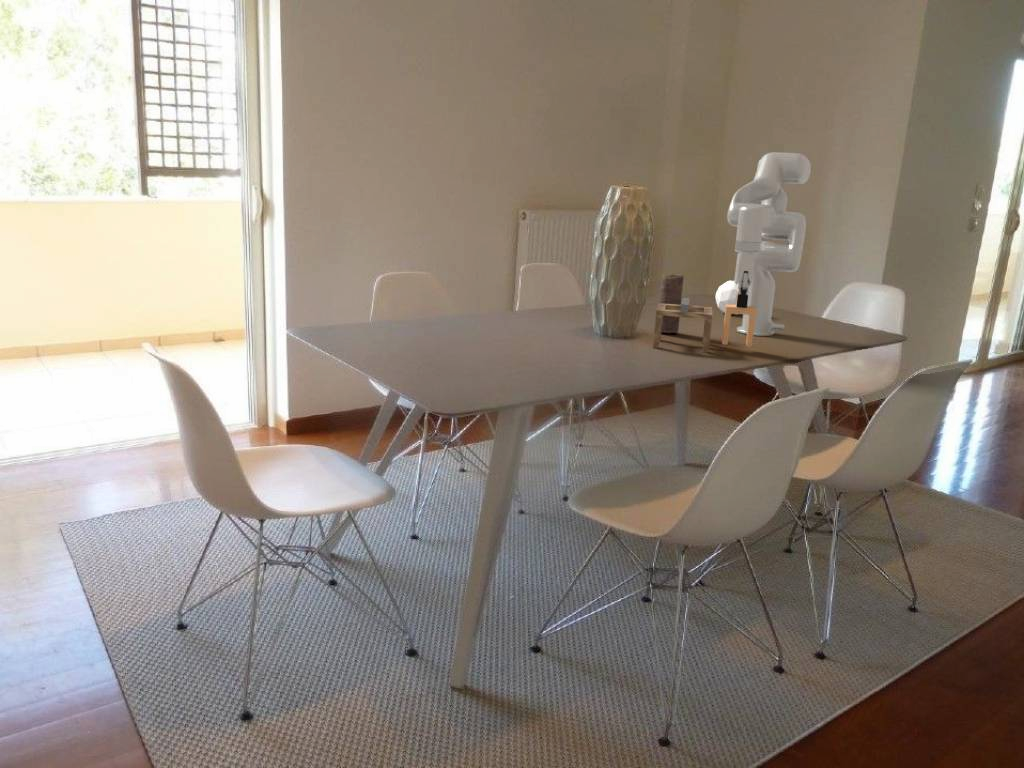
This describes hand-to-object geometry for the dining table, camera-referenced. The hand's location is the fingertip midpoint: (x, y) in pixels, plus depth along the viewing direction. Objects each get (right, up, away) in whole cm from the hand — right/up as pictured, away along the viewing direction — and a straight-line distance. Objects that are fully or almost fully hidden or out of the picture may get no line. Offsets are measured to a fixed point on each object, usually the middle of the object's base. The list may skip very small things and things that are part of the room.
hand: (741, 305), depth 272 cm
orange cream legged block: (0, -12, +3) cm, 12 cm away
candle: (-19, -7, +25) cm, 32 cm away
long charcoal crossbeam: (-17, -1, +3) cm, 17 cm away
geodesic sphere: (+14, +3, +70) cm, 71 cm away
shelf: (-17, -12, +6) cm, 22 cm away
